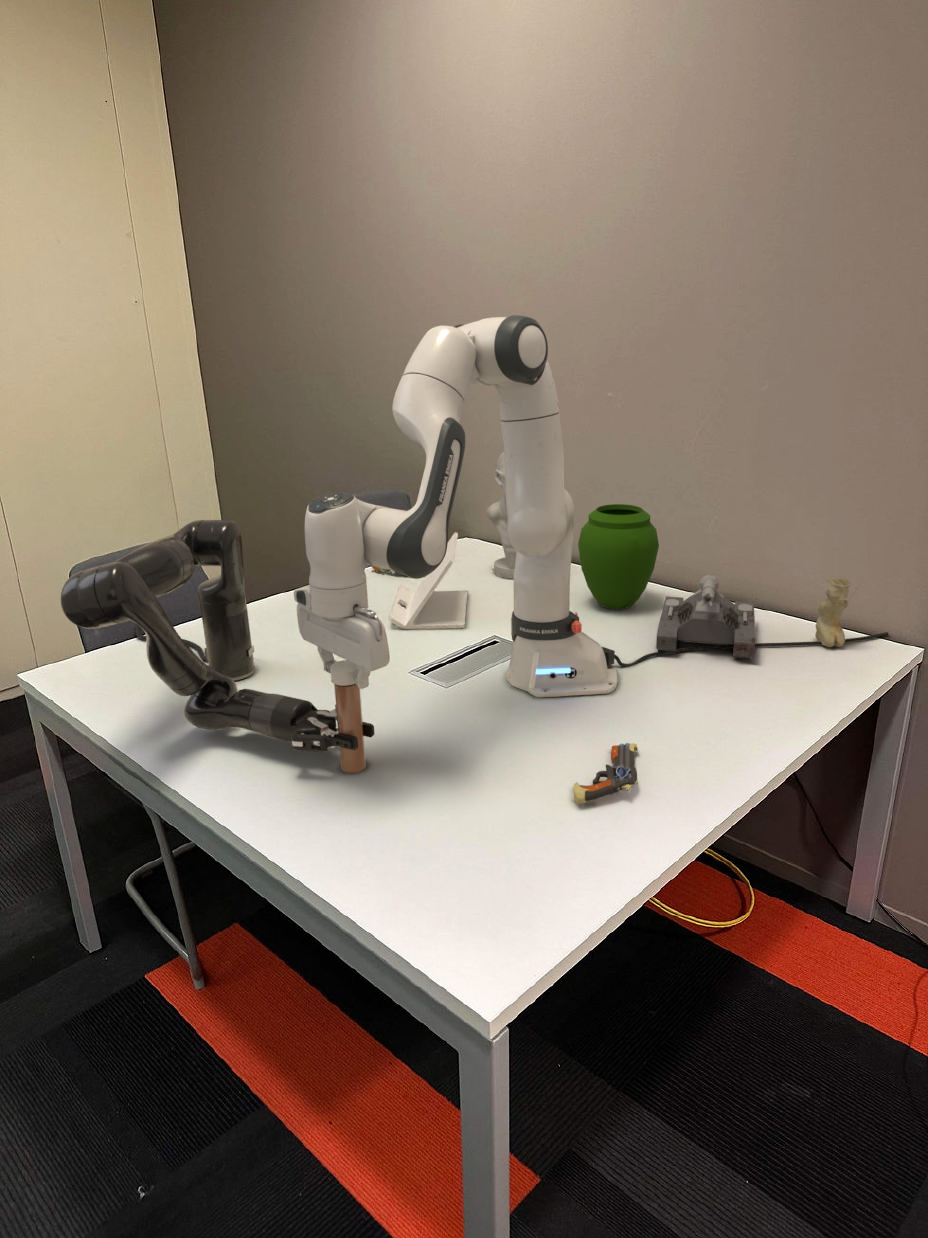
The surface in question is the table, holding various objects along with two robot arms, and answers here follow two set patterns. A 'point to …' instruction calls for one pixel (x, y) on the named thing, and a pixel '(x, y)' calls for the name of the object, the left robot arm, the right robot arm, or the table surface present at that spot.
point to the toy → (707, 621)
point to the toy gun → (610, 776)
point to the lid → (343, 673)
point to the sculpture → (832, 613)
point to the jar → (350, 726)
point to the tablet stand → (431, 600)
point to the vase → (618, 554)
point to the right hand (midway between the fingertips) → (346, 678)
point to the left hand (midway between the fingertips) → (364, 737)
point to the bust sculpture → (502, 524)
